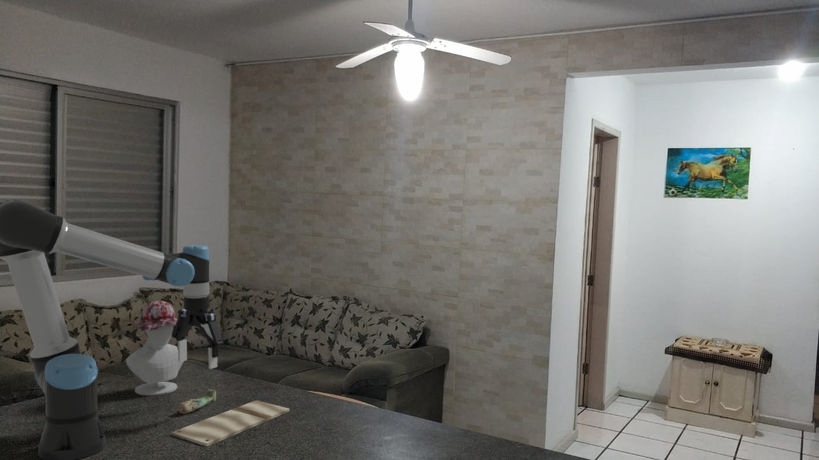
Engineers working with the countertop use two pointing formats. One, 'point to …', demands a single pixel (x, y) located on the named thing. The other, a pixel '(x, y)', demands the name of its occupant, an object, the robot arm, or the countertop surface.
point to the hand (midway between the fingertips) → (197, 364)
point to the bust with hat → (156, 351)
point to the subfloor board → (230, 423)
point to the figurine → (197, 402)
